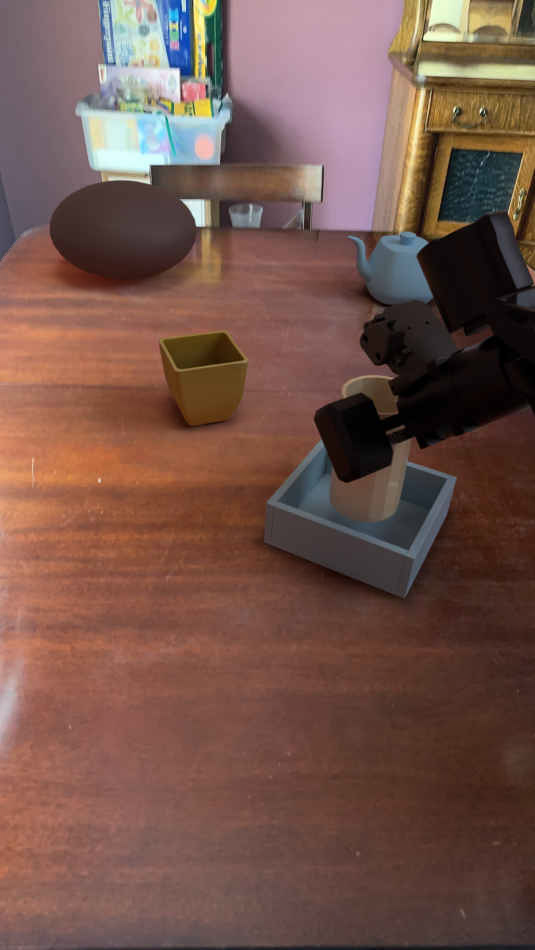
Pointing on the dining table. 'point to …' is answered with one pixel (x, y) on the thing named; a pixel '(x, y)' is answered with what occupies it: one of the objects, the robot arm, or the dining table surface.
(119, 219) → the smooth stone
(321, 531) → the tub
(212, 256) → the dining table surface
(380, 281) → the teapot
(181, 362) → the flower pot
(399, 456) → the tumbler
